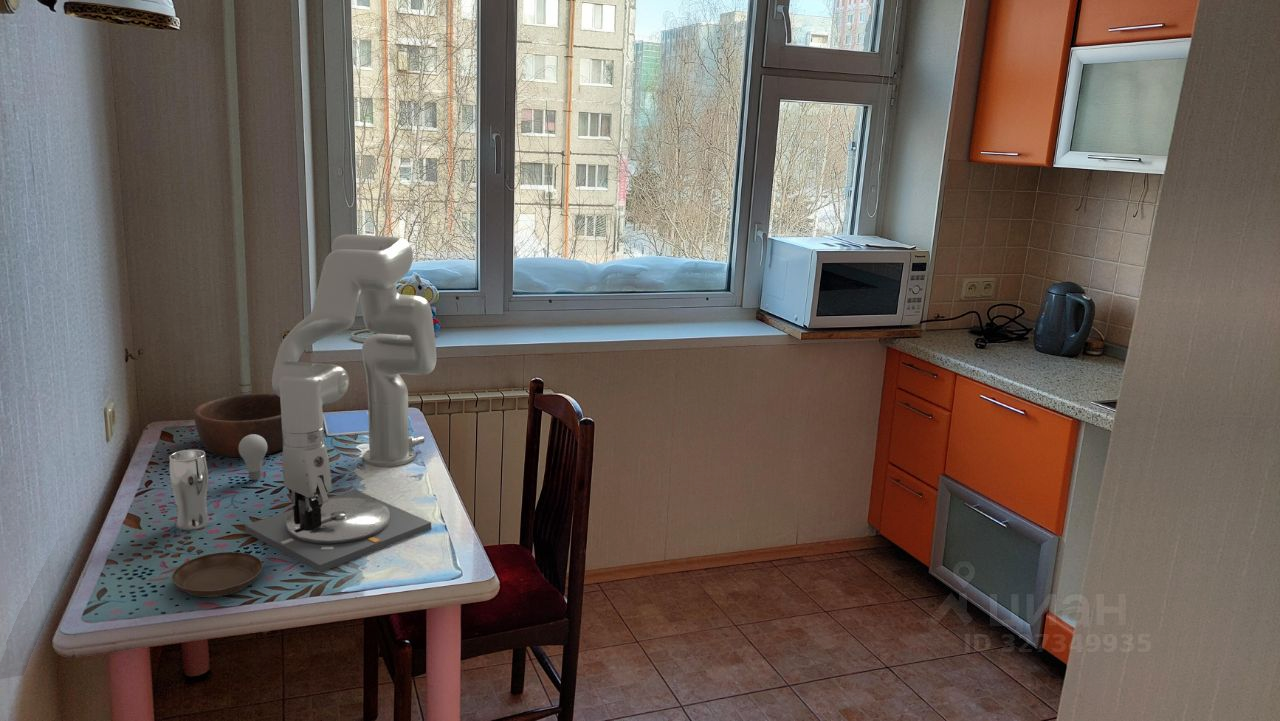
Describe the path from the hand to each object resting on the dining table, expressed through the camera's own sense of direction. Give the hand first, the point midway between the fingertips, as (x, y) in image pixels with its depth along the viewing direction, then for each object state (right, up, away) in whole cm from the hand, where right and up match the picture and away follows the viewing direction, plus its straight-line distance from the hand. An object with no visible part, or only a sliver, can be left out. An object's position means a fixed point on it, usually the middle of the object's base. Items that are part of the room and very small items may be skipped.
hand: (307, 524), depth 180 cm
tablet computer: (-15, +14, +72) cm, 75 cm away
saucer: (-10, -8, -16) cm, 21 cm away
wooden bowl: (-34, +11, +53) cm, 64 cm away
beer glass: (-26, -1, +7) cm, 27 cm away
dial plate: (+4, -2, +6) cm, 8 cm away
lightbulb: (-23, +5, +30) cm, 39 cm away
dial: (+4, -1, +6) cm, 7 cm away
